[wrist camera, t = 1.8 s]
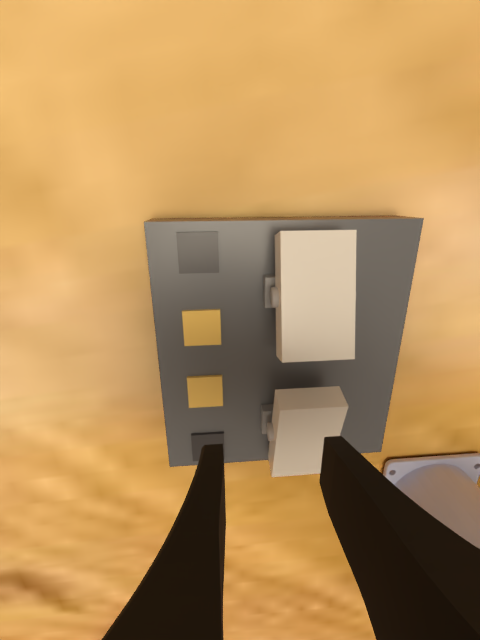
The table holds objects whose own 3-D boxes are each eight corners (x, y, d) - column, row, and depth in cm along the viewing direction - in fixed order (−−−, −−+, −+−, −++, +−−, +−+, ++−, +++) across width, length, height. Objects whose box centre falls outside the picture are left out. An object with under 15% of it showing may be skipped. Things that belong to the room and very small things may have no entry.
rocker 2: (325, 450, 21) (332, 472, 20) (263, 454, 21) (267, 477, 20) (343, 384, 18) (353, 406, 16) (270, 388, 17) (274, 410, 16)
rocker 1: (347, 352, 17) (359, 359, 16) (271, 355, 17) (276, 362, 15) (348, 234, 16) (361, 229, 15) (269, 235, 16) (274, 230, 15)
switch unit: (364, 427, 24) (386, 459, 21) (173, 439, 23) (168, 475, 20) (397, 215, 19) (432, 219, 16) (152, 218, 18) (140, 222, 15)
